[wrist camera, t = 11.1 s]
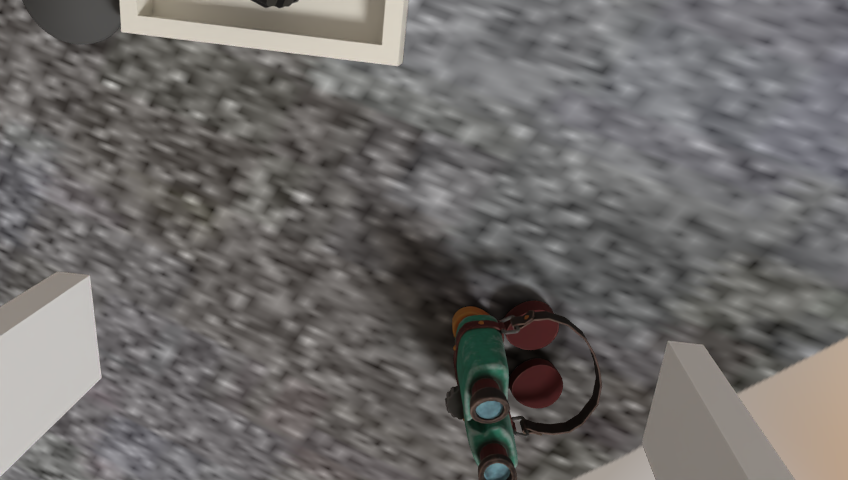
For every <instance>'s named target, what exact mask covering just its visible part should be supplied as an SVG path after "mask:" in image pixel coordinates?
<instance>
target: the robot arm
mask: <svg viewBox="0 0 848 480" xmlns="http://www.w3.org/2000/svg"><path fill="white" fill-rule="evenodd" d="M100 379H101V370H100V361H99V352H98V343H97V335H96V326H95V317H94V308H93V299H92V290H91V282H90V275H83V274H74V273H66V272H56V273H54V274H53V275H51V276H50V277H48V278H46V279H45V280H43V281H41V282H40V283H38V284H37V285H35V286H33V287H32V288H30V289H29V290H27V291H25V292H24V293H22V294H20V295H19V296H17V297H16V298H14V299H12V300H11V301H9V302H7V303H6V304H4V305H3V306H1V307H0V476H1V475H2V474H3V473H4V472H5V471H6V470H7V469H9V468H10V467H11V466H12V465H13V464H14V463H15V462H16V461H17V460H18V459H19V458H20V457H21V456H22V455H23V454H24V453H25V452H26V451H27V450H28V449H29V448H30V447H31V446H32V445H33V444H34V443H35V442H36V441H37V440H38V439H39V438H40V437H41V436H42V435H43V434H44V433H45V432H46V431H47V430H49V429H50V428H51V427H52V426H53V425H54V424H55V423H56V422H57V421H58V420H59V419H60V418H61V417H62V416H63V415H64V414H65V413H66V412H67V411H68V410H69V409H70V408H71V407H72V406H73V405H74V404H75V403H76V402H77V401H78V400H79V399H80V398H81V397H82V396H83V395H84V394H85V393H86V392H88V391H89V390H90V389H91V388H92V387H93V386H94V385H95V384H96V383H97V382H98V381H99V380H100ZM642 445H643V448H644V450H645V453H646V456H647V458H648V461H649V463H650V466H651V469H652V471H653V474H654V477H655V479H656V480H795V479H794V478H793V476H792V474H791V473H790V472H789V470H788V469H787V467H786V466H785V464H784V463H783V461H782V460H781V458H780V457H779V455H778V454H777V452H776V451H775V449H774V448H773V447H772V445H771V444H770V442H769V441H768V439H767V438H766V436H765V435H764V433H763V432H762V430H761V429H760V428H759V426H758V425H757V423H756V422H755V420H754V419H753V417H752V416H751V415H750V413H749V411H748V410H747V408H746V407H745V405H744V404H743V403H742V401H741V400H740V398H739V397H738V395H737V394H736V392H735V391H734V389H733V388H732V386H731V385H730V384H729V382H728V381H727V379H726V378H725V376H724V375H723V373H722V372H721V370H720V369H719V367H718V366H717V364H716V363H715V362H714V360H713V359H712V357H711V356H710V354H709V353H708V351H707V350H706V348H705V347H704V345H700V344H691V343H682V342H673V341H668V342H667V346H666V350H665V354H664V358H663V362H662V366H661V370H660V374H659V378H658V382H657V386H656V390H655V393H654V397H653V401H652V405H651V409H650V413H649V417H648V421H647V425H646V429H645V433H644V437H643V441H642Z"/></svg>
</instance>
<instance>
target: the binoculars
mask: <svg viewBox="0 0 848 480" xmlns="http://www.w3.org/2000/svg"><path fill="white" fill-rule="evenodd" d="M558 323H560V324H563V325H566V326H569V327H570V328H571V329H572V330H573V331H575V332H576V333H577V334H578V335H579V336H581V337H582V338H583V339H584V340H585V341H586V343H587V345H588V346H589V348H590V351H591V354H592V357H593V360H594V366H595V373H596V380H595V385H594V390H593V395H592V397H591V399H590V400H589V401H588V403H587V404H586V405H585V406H584V408H583V409H582V410H581V412H580V413H579V414H578V415H576V416H575V417H573V418H572V419H570V420H568V421H567V422H564V423H556V424H543V423H534V422H532V421H529V420H526V419H525V418H524V417H523V416H517V417H512V418H511V415H510V407H509V404H508V401H507V399H508V388H510V390H511V392H512V394H513V396H514V397H515V399H516V400H517V401H518V402H520V403H521V404H523V405H525V406H528V407H531V408H544V407H547V406H549V405H551V404H553V403H554V402H555V401H556V400H557V399H558V398H559V396H560V395H561V392H562V389H563V381H562V378H561V376H560V374H559V372H558V371H557V369H556V368H555V367H554V366H553V364H552V363H550V362H549V361H547V360H545V359H540V358H534V359H530V360H527V361H525V362H523V363H522V364H520V365H519V366H518V367H517V368H516V369H514V371H513V372H512V373H511V375H510V377H509V370H508V364H507V359H506V354H505V349H504V344H503V342H504V334H506V337H507V339H508V341H509V342H510V343H511V344H513V345H514V346H516V347H518V348H521V349H525V350H536V349H540V348H543V347H545V346H547V345H548V344H550V343H551V342H552V341H553V340H554V339H555V337H556V335H557V333H558V330H559V324H558ZM452 329H453V335H454V337H455V346H454V347H453V350H454V357H453V361H454V367H455V374H456V380H457V386H456V387H452V388H451V390H450V391H449V392H447V394H446V395H447V398H445V402H446V407H447V411H448V413H451V415H452V416H453V417H457V418H458V419H461V420H462V419H463V421H465V426H466V432H467V437H468V441H469V445H470V448H471V451H472V454H473V457H474V459H475V462H476V464H477V465H478V477H479V480H517V473H516V470H515V468H516V466H517V463H518V461H517V450H516V445H515V439H514V434H515V435H516V436H521V437H525V438H526V437H528V436H529V434H537V435H542V434H551V435H556V434H563V433H570V432H571V431H573V430H575V429H576V428H578V427H580V426H581V425H583V424H584V423H585V422H586V420H587V419H588V418H589V416H590V415H591V414H592V412H593V411H594V410H595V409H596V407H597V406H598V403H599V398H600V394H601V389H602V381H601V374H600V368H599V365H598V362H597V359H596V355H595V353H594V351H593V350H592V348H591V346H590V344H589V342H588V341H587V339H586V337H585V336H584V334H583V332H582V331H581V330H580V329H579V328H577V327H576V326H575V325H574V324H573V323H571V322H570V321H569V320H568V319H567V318H565V317H562V316H559V315H556V314H554V313H553V311H552V309H551V308H550V307H549V305H547V304H546V303H544V302H541V301H536V300H534V301H527V302H524V303H521V304H519V305H517V306H516V307H514V308H513V309H512V310H511V311H509V312H508V314H507V315H506V316H505V318H504V319H502V320H496V319H495V318H494V317H493V316H490V315H489V314H488V313H487V312H485V311H484V310H482V309H479V308H477V307H472V306H469V307H464V308H461V309H459V310H458V311H457V312H456V313H455V315H454V317H453V319H452ZM519 419H522V420H521V421H520V425H521V428H522V432H523V433H524V434H523V433H518V432H516V427H515V423H514V422H513V421H514V420H519Z"/></svg>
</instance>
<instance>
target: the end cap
mask: <svg viewBox="0 0 848 480" xmlns="http://www.w3.org/2000/svg"><path fill="white" fill-rule="evenodd" d="M251 1H253V2H255V3H257V4H259V5H261V6H262V7H264V8H268V7H271V6H275V7H277V8H283V7H289V6H290V5H291V4H292V3H295V2H298V1H299V0H251Z"/></svg>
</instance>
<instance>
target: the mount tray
mask: <svg viewBox="0 0 848 480" xmlns="http://www.w3.org/2000/svg"><path fill="white" fill-rule="evenodd" d="M119 1H120V18H121V32H125V33H133V34H141V35H150V36H158V37H166V38H174V39H182V40H190V41H198V42H207V43H215V44H223V45H231V46H239V47H247V48H255V49H264V50H272V51H280V52H288V53H296V54H304V55H312V56H321V57H329V58H337V59H345V60H353V61H361V62H369V63H377V64H386V65H394V66H399V65H400V64H402V63H403V54H404V43H405V33H406V23H407V12H408V2H409V0H299V1H298V2H295V3H292V4H291V5H290V6H289V7H283V8H277V7H275V6H271V7H268V8H264V7H262V6H261V5H259V4H257V3H255V2H253V1H251V0H119Z"/></svg>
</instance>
